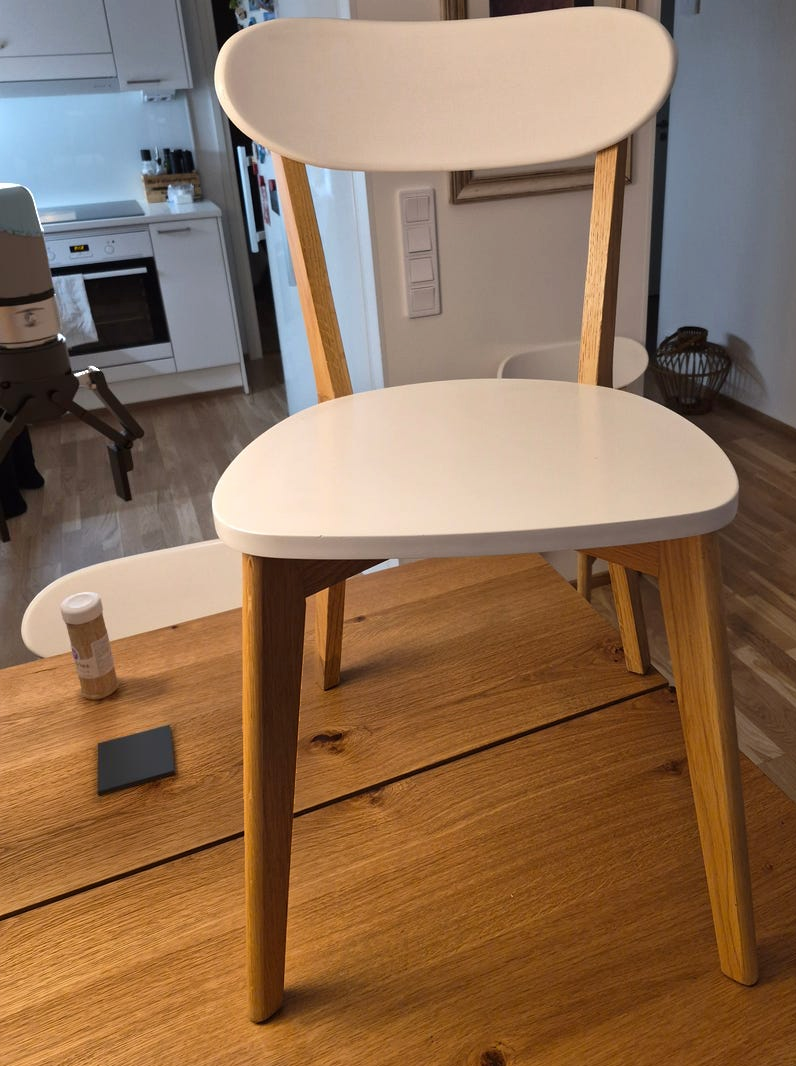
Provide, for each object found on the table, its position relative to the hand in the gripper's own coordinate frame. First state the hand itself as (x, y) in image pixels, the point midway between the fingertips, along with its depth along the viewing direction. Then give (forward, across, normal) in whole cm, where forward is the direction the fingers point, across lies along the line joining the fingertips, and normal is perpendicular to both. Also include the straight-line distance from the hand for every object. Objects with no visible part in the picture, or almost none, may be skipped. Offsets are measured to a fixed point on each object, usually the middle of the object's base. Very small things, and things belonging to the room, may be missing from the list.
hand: (66, 516), depth 98 cm
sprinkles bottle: (+26, 0, +1) cm, 26 cm away
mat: (+25, -2, -14) cm, 29 cm away
